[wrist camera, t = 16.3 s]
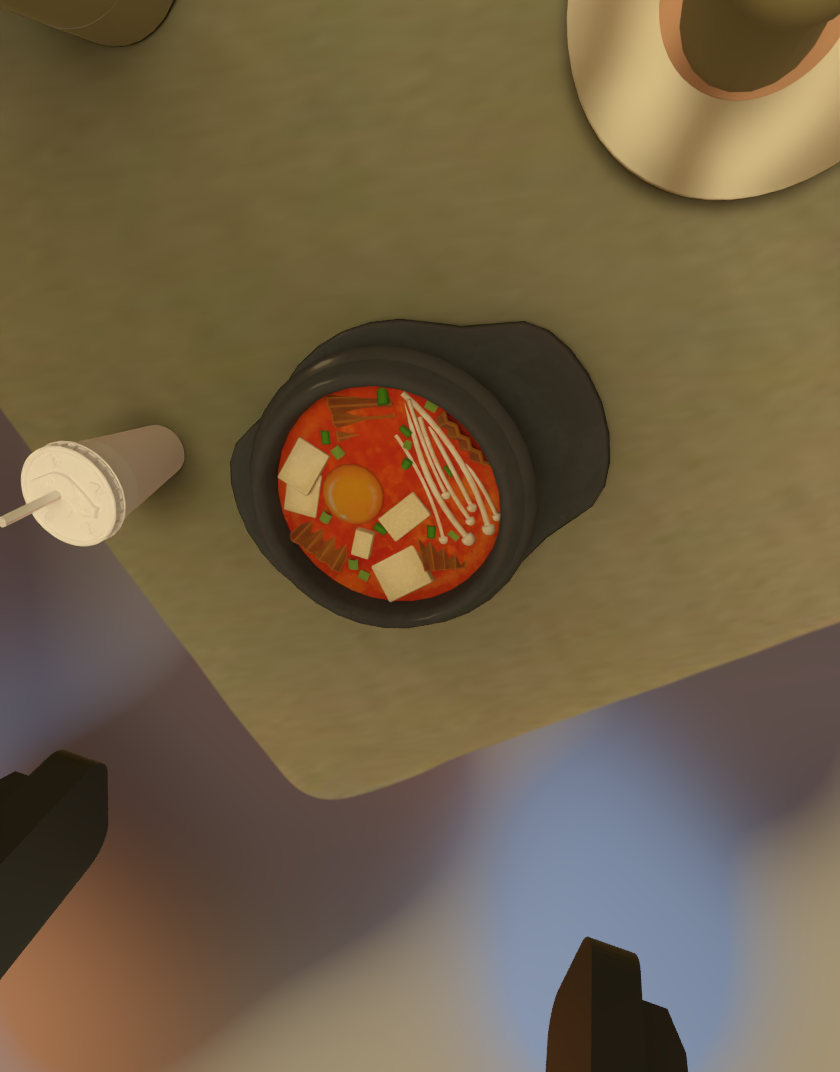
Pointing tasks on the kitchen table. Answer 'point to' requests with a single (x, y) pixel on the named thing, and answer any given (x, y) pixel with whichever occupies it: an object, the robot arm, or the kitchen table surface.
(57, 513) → the smoothie
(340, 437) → the casserole
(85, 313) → the kitchen table surface
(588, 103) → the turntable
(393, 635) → the kitchen table surface
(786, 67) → the brown pepper shaker
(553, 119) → the kitchen table surface
